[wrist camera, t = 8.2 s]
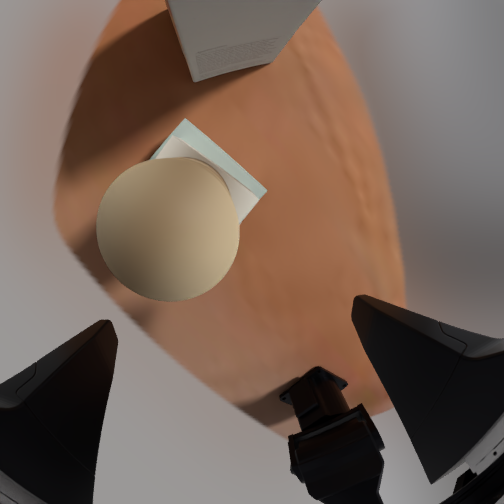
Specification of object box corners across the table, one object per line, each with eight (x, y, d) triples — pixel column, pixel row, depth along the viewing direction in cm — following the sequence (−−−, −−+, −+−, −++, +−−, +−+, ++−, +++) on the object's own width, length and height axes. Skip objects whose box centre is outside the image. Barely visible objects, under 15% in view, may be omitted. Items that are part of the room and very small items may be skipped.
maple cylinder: (251, 199, 14) (270, 224, 9) (190, 270, 14) (181, 324, 10) (175, 137, 12) (151, 127, 7) (117, 215, 13) (74, 246, 8)
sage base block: (258, 183, 20) (267, 190, 17) (199, 249, 22) (196, 267, 18) (190, 123, 18) (185, 118, 15) (131, 194, 19) (117, 203, 16)
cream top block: (250, 189, 17) (259, 199, 14) (199, 255, 18) (196, 279, 15) (181, 138, 15) (172, 135, 12) (132, 209, 16) (114, 223, 13)
